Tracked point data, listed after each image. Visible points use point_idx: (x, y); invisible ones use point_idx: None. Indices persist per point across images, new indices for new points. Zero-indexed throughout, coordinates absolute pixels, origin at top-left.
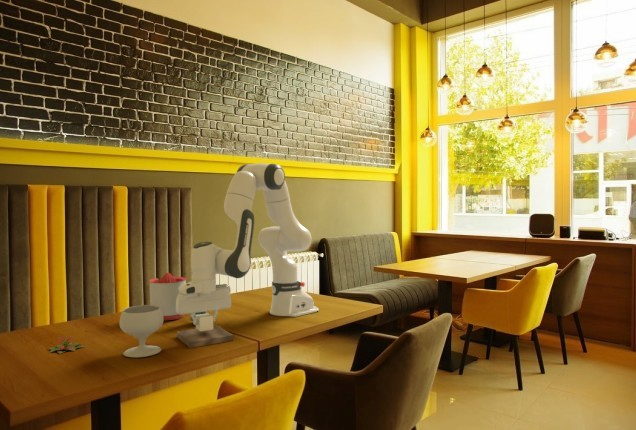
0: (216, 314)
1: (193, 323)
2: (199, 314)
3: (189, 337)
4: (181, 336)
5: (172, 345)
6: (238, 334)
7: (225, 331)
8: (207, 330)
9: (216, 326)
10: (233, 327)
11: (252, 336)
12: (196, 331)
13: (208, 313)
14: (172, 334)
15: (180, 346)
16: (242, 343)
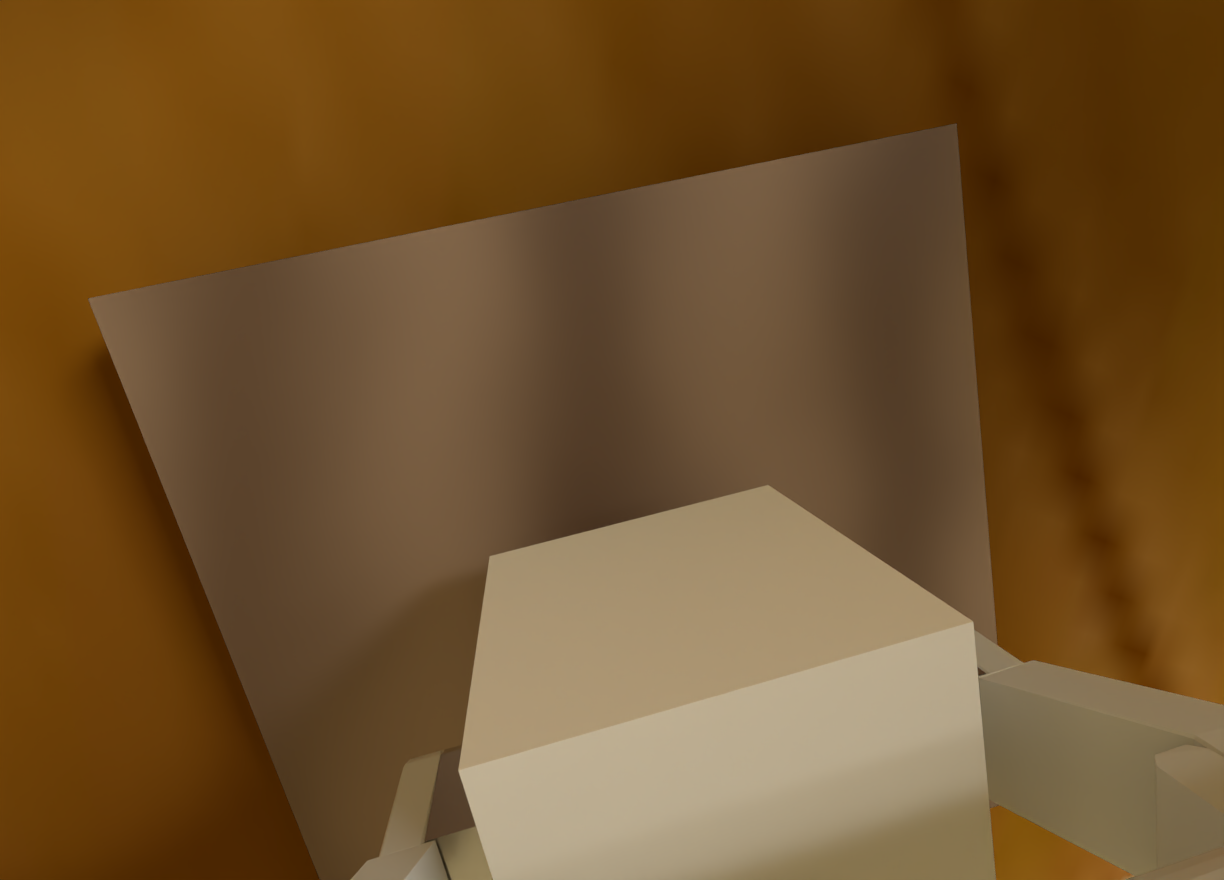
0: (1143, 848)
1: (410, 784)
2: (620, 735)
3: (369, 770)
4: (223, 608)
5: (122, 759)
6: (1093, 498)
7: (970, 591)
8: (715, 430)
9: (918, 203)
10: (1160, 62)
11: (1202, 641)
12: (511, 432)
13: (958, 665)
14: (41, 68)
15: (255, 829)
16: (1013, 872)
